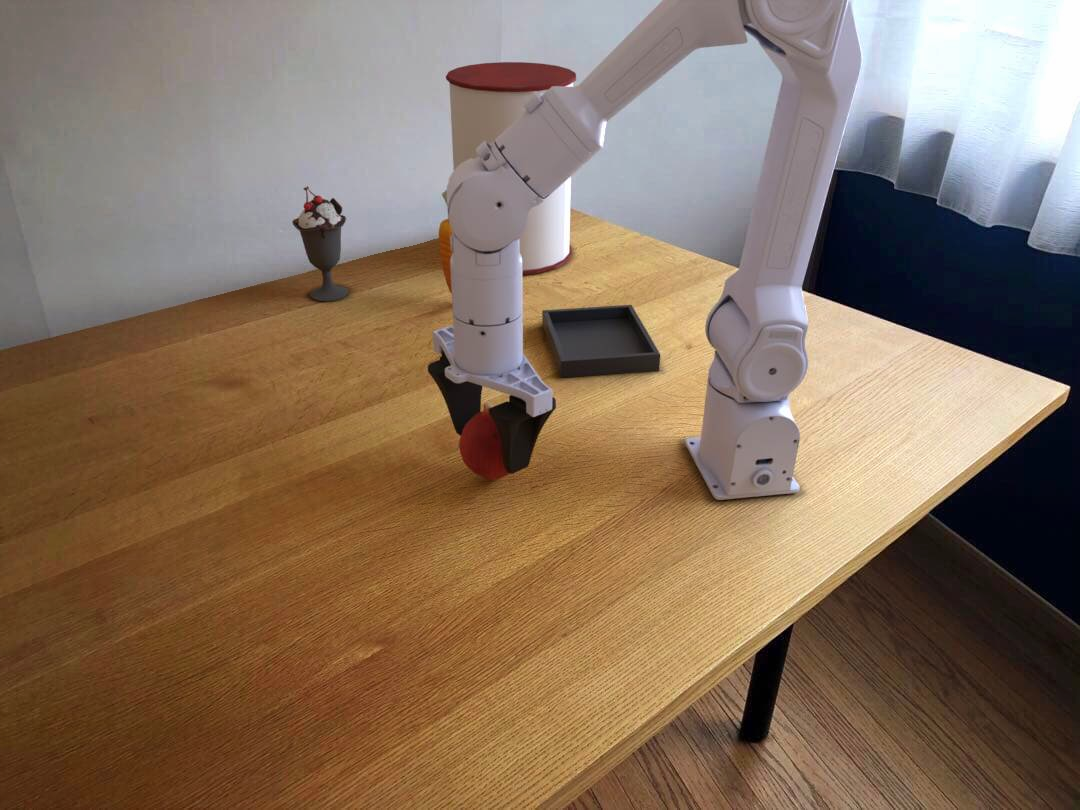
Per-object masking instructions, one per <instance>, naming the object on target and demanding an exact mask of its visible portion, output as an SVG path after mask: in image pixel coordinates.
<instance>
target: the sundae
mask: <svg viewBox="0 0 1080 810" xmlns="http://www.w3.org/2000/svg"><path fill="white" fill-rule="evenodd" d="M303 190H304V191H305V194H306V197H305V198H306V202H304V204H303V210H302V211H301V213H299V216H298V217H297V218H294V219H293V220H292V221H291V222H292V226H294V228H295V229H296V230H298V231H299V233H300V237H301V240H302V243H303V247H304V250H305V255H306V256H307V259H308V261H309V263H310V264H311V265H312V266H313V267H314V268H316V269H318V270H319V271H321V276H322V284H321V286H318V287H316V288H314V289H312V290H311V292H310V294H309V296H310V298H311V299H312V300H314V301H317V302H324V303H325V302H326V303H327V302H335V301H338V300H342V299H344V298H345V297H347V295H348V294H349V291H348V289H347V287H344V286H342V285H337V284H334V281H333V279H332V270H333V268H335V267H336V266H337V265H338V263H339V262H340V260H341V252H342V227H344V225H345V223H346V221H347V217H346V215H343V214H342V213H343V206H342V205H341V204H340V203H339V202H338V201H337V200H336V198H334V197H332V198H331V199H330V200H329V199H325V198H323V197H322V196H321V195H316V194H315V193H314V192H312V191H310V188H309V186H308V185H307V186H305V187H303ZM308 192H309V194H311V195H312V196H314V197H313V198H312V199H311V200H310V201H309V194H308Z"/></svg>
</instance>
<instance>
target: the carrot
mask: <svg viewBox="0 0 1080 810" xmlns="http://www.w3.org/2000/svg"><path fill="white" fill-rule="evenodd" d="M441 195H442V198H443V199H444V202H445V204H446V205H447V203H446V199H445V191H443V192H442V193H441ZM438 227H439V228H438V243H439V244H438V245H439V252H440V262H441V267H442V271H443V275H444V279H445V282H446V286H447V288H448V290H449V292H450V295H452V290H451V270H450V259H451V256H452V254H453V252H452V250H451V244H450V238H451V234H453V233H452V228H451V225H450V223H449V219H448V218H446V219H444V220H442V221H441V222H440V223H439V226H438Z"/></svg>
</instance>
